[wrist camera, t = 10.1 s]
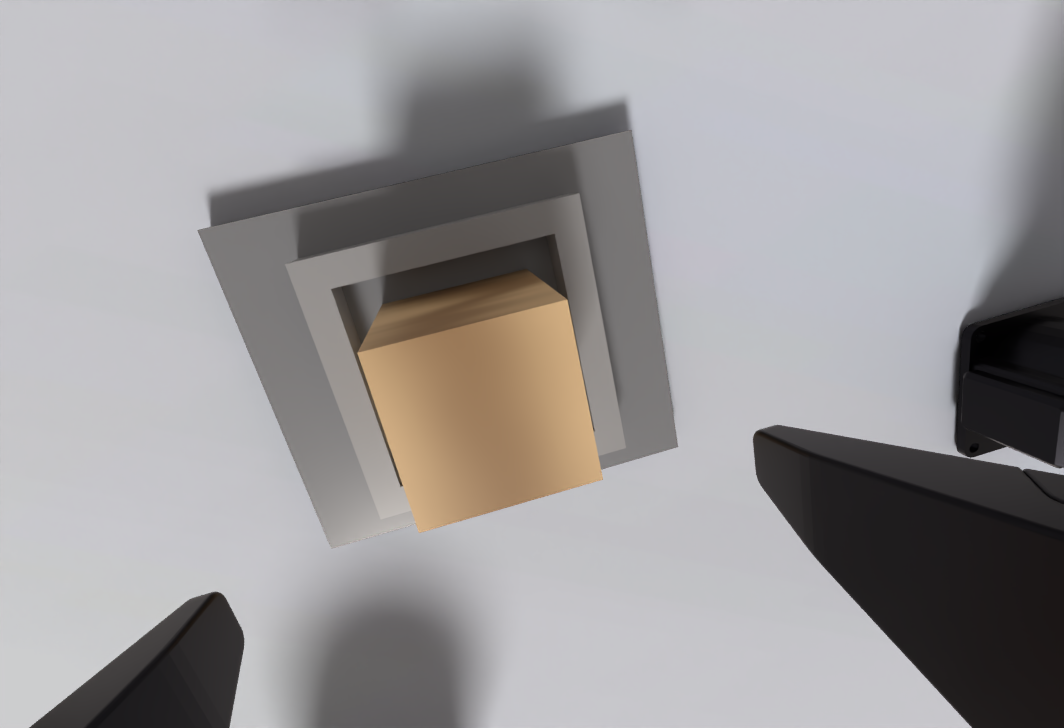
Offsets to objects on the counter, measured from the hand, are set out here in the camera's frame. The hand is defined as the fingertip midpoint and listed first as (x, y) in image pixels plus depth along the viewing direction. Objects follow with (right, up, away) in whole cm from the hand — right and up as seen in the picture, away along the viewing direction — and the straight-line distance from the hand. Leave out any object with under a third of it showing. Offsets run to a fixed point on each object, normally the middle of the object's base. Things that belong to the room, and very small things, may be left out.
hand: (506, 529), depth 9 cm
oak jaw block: (-2, +3, +10) cm, 11 cm away
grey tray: (-2, +3, +11) cm, 12 cm away
